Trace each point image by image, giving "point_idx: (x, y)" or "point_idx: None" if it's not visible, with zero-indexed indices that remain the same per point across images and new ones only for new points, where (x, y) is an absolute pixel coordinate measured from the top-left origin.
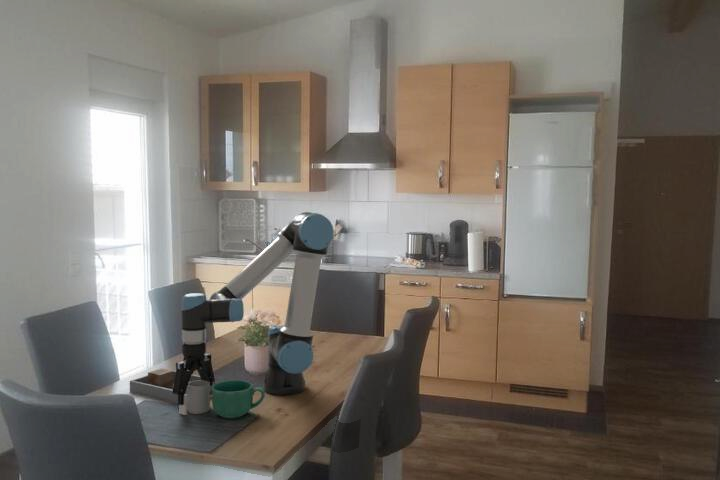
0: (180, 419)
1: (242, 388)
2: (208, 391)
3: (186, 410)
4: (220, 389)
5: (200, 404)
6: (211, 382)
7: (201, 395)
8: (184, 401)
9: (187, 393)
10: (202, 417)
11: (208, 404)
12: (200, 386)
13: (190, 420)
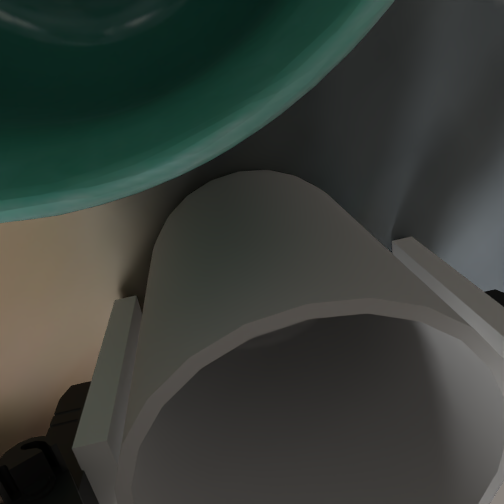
0: (487, 193)
1: None
2: (226, 260)
3: (417, 253)
4: (31, 134)
5: (329, 203)
6: (2, 496)
7: (358, 237)
8: (487, 303)
9: (425, 402)
10: (351, 82)
11: (213, 196)
12: (188, 486)
13: (465, 105)
